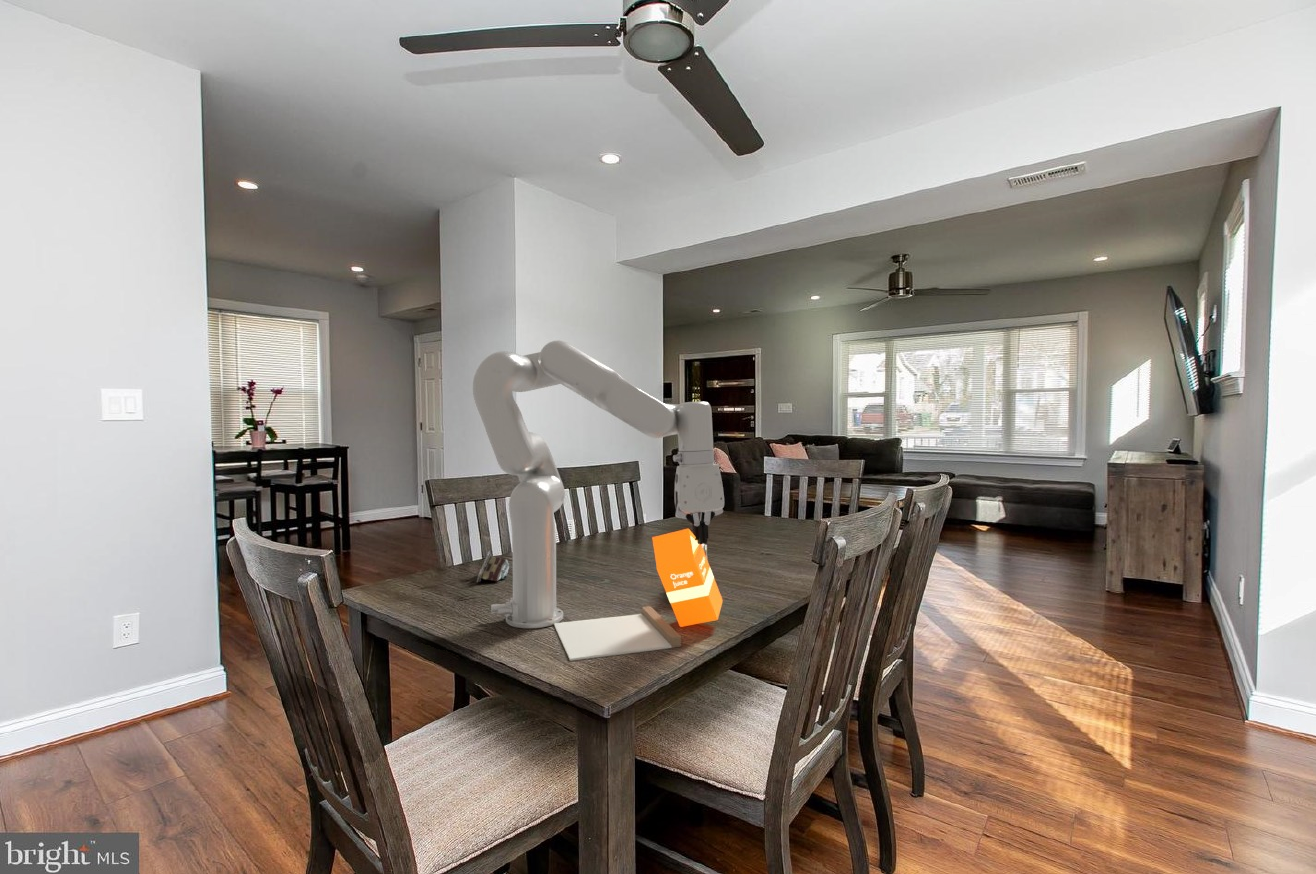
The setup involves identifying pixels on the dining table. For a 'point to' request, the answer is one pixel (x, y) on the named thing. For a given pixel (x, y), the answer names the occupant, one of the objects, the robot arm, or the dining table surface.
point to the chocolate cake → (493, 568)
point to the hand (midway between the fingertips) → (701, 542)
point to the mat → (617, 635)
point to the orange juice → (687, 578)
